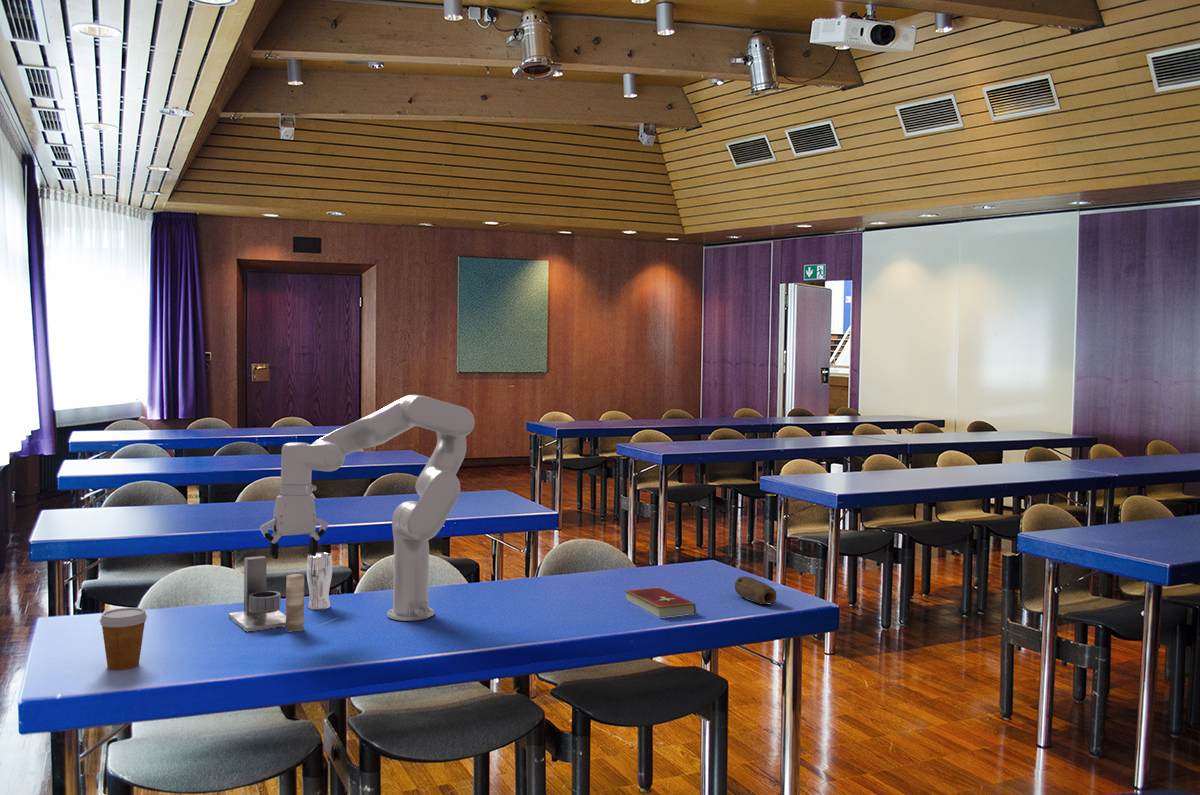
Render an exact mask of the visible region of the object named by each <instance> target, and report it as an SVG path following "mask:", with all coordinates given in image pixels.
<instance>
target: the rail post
mask: <svg viewBox="0 0 1200 795" xmlns="http://www.w3.org/2000/svg"><path fill="white" fill-rule="evenodd" d="M285 578H286V581H285V582H286V583H285V584H286V585H285V586H286V587H285V615H286V627H285V631H286V630H287V631H300V632H302V631H303V629H305V628H304V627H305V623H304V621H305V619H304V618H305V575H304V574H301V573H300V574H298V573H297V574H295V573H294V574H288V575H286V577H285ZM301 630H302V631H301ZM287 631H286V632H287Z"/></svg>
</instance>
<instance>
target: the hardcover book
mask: <svg viewBox="0 0 1200 795" xmlns="http://www.w3.org/2000/svg"><path fill="white" fill-rule="evenodd" d="M624 592H625V593H626V596H625V597H626V599H627V600H628V601H631V602H632V603H634V604H636V605H638V606H640V607H642V608H644V609H645V610H647V611H649V612H651V613H652V614H654V615H656V616H658V617H667V616H675V615H676V616H677V615H685V614H692V613H694V614H695V613H697V607H696V603H695V602H693V601H691V600H688V599H686V598H684V597H682V596H679V595H677V594H675V593H673V592H670V591H668V590H666V589H664V588H661V587H659V586H658V587H657V586H655V587H646V588H635V589H625V590H624ZM695 615H696V614H695Z"/></svg>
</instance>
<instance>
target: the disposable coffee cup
mask: <svg viewBox="0 0 1200 795" xmlns="http://www.w3.org/2000/svg"><path fill="white" fill-rule="evenodd" d="M147 618H148V615H147V613H146V610H145V609H143V608H141V607H124V608H115V609H110V610H107V611H105V612H103V613H102V615H101V617H100V619H99V623H100V625H101V627H102V629H101V630H102V635H103V636H102V637H103V642H104V650H105V651H104V652H105V658H106V664H107V665H106V666H107V669H108V670H113V671H117V670H118V671H122V670H129V669H132V668H135V667H137V666H139V665H140V658H141V652H142V643H143V636H144V630H145V623H146V620H147Z"/></svg>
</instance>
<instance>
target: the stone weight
mask: <svg viewBox="0 0 1200 795" xmlns="http://www.w3.org/2000/svg"><path fill="white" fill-rule="evenodd" d="M734 589H735V592H736V593H737V595H739V596H740V595H741V596H743V597H746V598H748V599H750V600H753V601H755V602H758V603H761V604H767V603H773V604H774V603H776V600H777V591H776V590H775V589H774V588H773V587H771V585H769V584H767V583H765V582H762V581H760V580H757V579H756V578H754V577H750V576H744V575H743V576H739V577H737V579H736V580H735V583H734ZM741 596H740V597H741ZM743 597H742V598H743ZM761 604H760V605H761Z"/></svg>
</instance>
